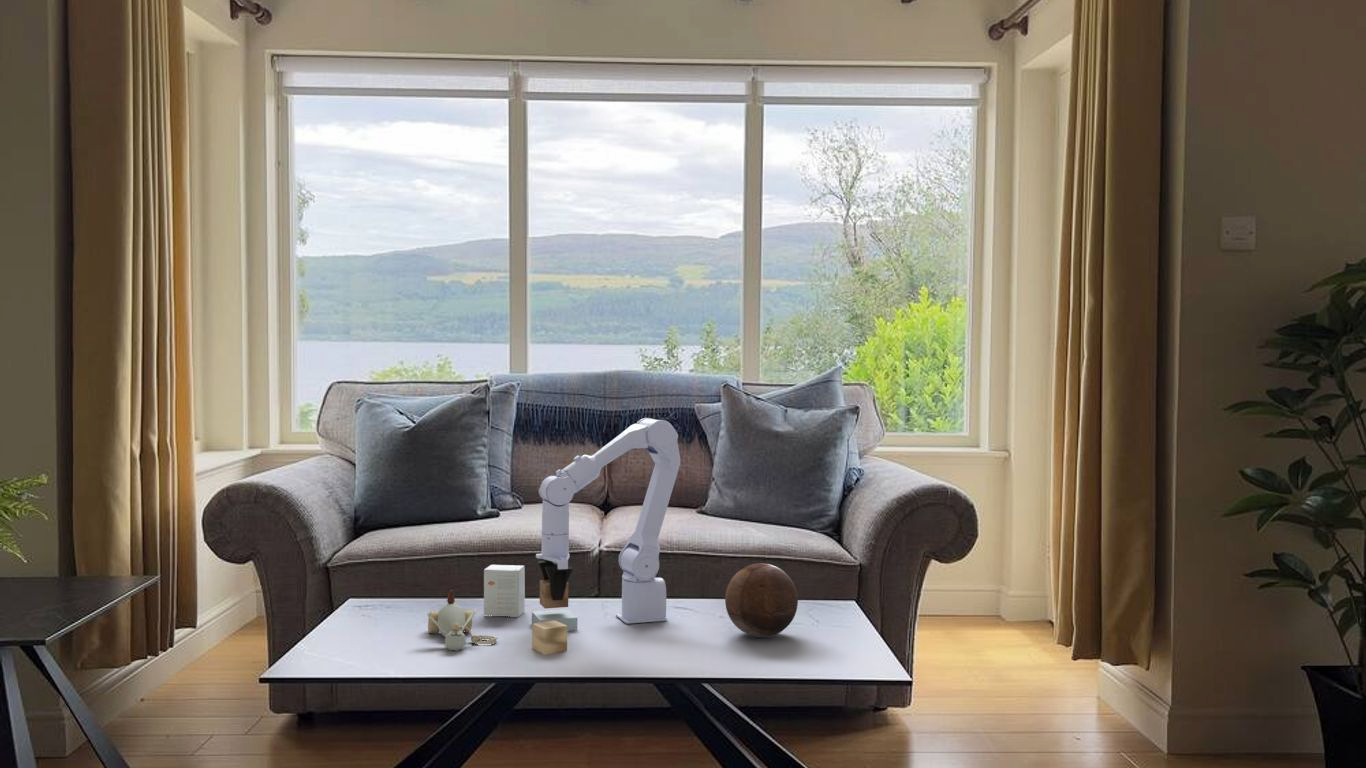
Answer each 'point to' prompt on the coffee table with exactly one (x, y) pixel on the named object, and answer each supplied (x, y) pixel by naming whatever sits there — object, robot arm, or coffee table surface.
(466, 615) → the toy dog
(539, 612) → the slab
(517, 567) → the small box
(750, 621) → the wooden sphere
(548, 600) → the walnut cube
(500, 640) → the coffee table surface
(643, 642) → the coffee table surface
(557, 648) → the oak cube
